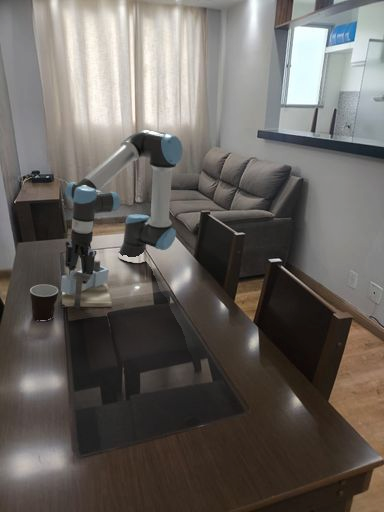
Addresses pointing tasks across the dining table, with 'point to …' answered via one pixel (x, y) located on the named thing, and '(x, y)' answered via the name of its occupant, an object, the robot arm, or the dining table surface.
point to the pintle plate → (88, 292)
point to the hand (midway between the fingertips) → (77, 287)
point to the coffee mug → (43, 301)
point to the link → (96, 280)
